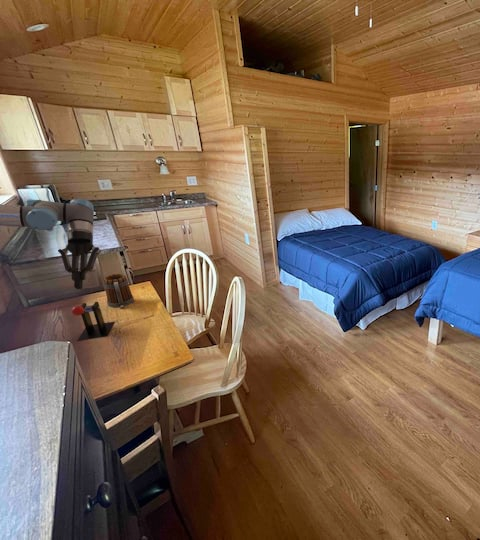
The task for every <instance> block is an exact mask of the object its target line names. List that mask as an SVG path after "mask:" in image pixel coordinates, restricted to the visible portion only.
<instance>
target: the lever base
mask: <svg viewBox="0 0 480 540" xmlns="http://www.w3.org/2000/svg"><path fill="white" fill-rule="evenodd" d="M92 305H93V306H92ZM92 305H91V306H92V309H93V311H92V312H93V315H94V319H95V321H96V323H94V324H93V321H92V317H91V315H90V312H85V311H84V313H83V314H81V315H80V316H81V319H82V322H83V325H84V328H83V331H82V332H81V333H80V335H79V337H78V338H77V340H76V341H77V342H81V341H88V340H94V339H100V338H107V337H109V335H110V333H111V331H112V329H113V327H114V325H115V323H116V321H108V322H105V319H104V317H103V313H102V309H101V307H100V303H99V301H95V302H94V303H93V304H92ZM80 306H82V307H83V308H85V306H88V305H87V303H86V302H83V303H82V304H81V305H80Z"/></svg>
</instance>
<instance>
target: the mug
mask: <svg viewBox="0 0 480 540" xmlns="http://www.w3.org/2000/svg"><path fill="white" fill-rule="evenodd" d="M103 287H104V289H105V294H106V303H107V306H108V307H110V308H120V310H122V309H125V306H128V305H131V304H134V302H135V297H134V296H133V293H132V291H131V288H130V285H129V281H128V279H127V277H126V275H125V274H124V273H112V274H108V275H107V276H105V277H104V278H103Z"/></svg>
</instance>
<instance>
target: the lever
mask: <svg viewBox="0 0 480 540" xmlns="http://www.w3.org/2000/svg"><path fill="white" fill-rule="evenodd" d="M92 306H93V304H92V305H87V306H85V308H83V307H82V306H81V305H75V306H73V307H72V308H71V314H72V315H74V316H81V314H83V313H84V311H85V312H89V313H91V312H93V309H92Z"/></svg>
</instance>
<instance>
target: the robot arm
mask: <svg viewBox="0 0 480 540" xmlns="http://www.w3.org/2000/svg"><path fill="white" fill-rule="evenodd" d="M94 208H95V207H94V204H93V203H92V202H91V201H90V200H86V199H84V198H73V199H71V200H70V201H69V203H68V202H67V203H65V202H59V201H58V202H57V201H50V200H42V199H31V198H29V199H27V200H26V201H25V205H17V204H16V205H15V204H2V203H1V204H0V227H16V228H32V229H34V230H39V231H47V230H51V229H52V228H54V227H55V226H57V224H58V222H65V223H68V227H67V232H68V234H67V244H66V245H65V247H64V248H62V249H61V248H59V249H57V252H58V253H59V254H60V256H61V259H62V263H63V266H64V270H65V271H66V272H67V273H69V274H71V280H72V281H73V282H74V283H73V288H75V289H76V290H82V289H83V285H84V284H83V283H84V281H86V279H87V272H92V271H93V270H94V268H95V267H94V266H95V264H96V261H97V258H98V255H99V254H100V253H101V252H102V250H101V248H99V246H95V245H94V220H95V219H94V218H95V217H94V216H95V209H94ZM69 253H70V254H71V261H70V258H69V256H68V254H69ZM89 253H90V255H89ZM88 257H89V258H88ZM79 262H80V263H79Z"/></svg>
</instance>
